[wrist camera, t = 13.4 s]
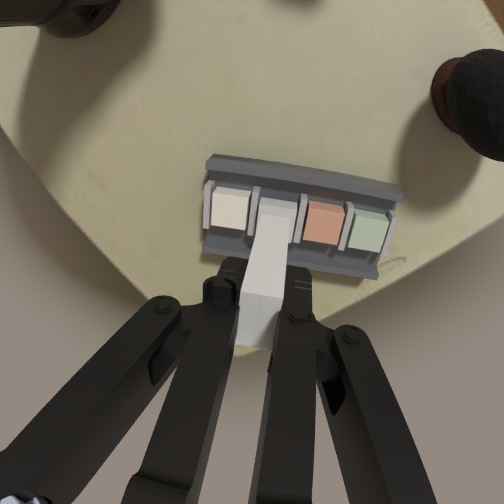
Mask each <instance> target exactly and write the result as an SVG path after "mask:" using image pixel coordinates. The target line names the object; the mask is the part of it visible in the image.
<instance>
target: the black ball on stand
mask: <svg viewBox="0 0 504 504" xmlns="http://www.w3.org/2000/svg"><path fill="white" fill-rule="evenodd" d="M431 90H432V101H433V105H434V108H435V111H436V113H437V115H438V117H439V118H440V120H441V121H442V122H443V124H444V125H445V126H446V127H447V128H449V129H450V130H451V131H453V132H455V133H456V134H458V135H460V136H461V137H462V138H463V139H464V141H465V142H466V143H467V144H468V145H469V146H470V147H471V148H473V149H474V150H475V151H476V152H478V153H480V154H481V155H483V156H485V157H487V158H490V159H493V160H496V161H501V162H504V51H500V50H496V49H481V50H477V51H474V52H471V53H469V54H467V55H466V56H464V57H458V58H452V59H449V60H447V61H446V62H444V63H443V64H442V65H441V66H440V67H439V68H438V70H437V71H436V73H435V75H434V78H433V81H432V89H431Z"/></svg>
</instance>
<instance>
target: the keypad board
mask: <svg viewBox="0 0 504 504" xmlns="http://www.w3.org/2000/svg"><path fill="white" fill-rule="evenodd" d="M205 169H207V170H209V181H208V182H207V183H206V184H205V186H204V207H203V228H205V229H206V240H205V241H204V243H203V245H202V252H204V253H210V254H216V255H222V256H228V257H229V256H232V257H238V258H244V259H249V258H250V254H251V250H252V247H253V243H254V239H255V235H256V227H257V219H258V211H259V204H260V200H261V197H265V198H271V199H277V200H284V201H290V202H296V203H297V214H296V219H295V225H294V230H293V236H292V241H291V243H288V250H287V262H286V265H292V266H299V267H305V268H307V269H309V270H315V271H321V272H328V273H334V274H340V275H347V276H353V277H360V278H366V279H373V280H377V278H378V276H379V273H378V270H377V267H376V266H377V264H378V261H379V258H380V257H384V258H385V257H386V255H387V252H388V249H389V246H390V243H391V240H392V237H393V234H394V231H395V228H396V224H397V221H398V216H397V215H396V213H395V208H396V204H397V202H402V203H403V200H404V196H405V195H404V194H403V193H402V191H401V190H400V189H399V188H398V186H397V185H394V184H390V183H385V182H381V181H376V180H372V179H367V178H362V177H357V176H352V175H347V174H342V173H337V172H332V171H327V170H321V169H315V168H310V167H304V166H298V165H292V164H285V163H279V162H272V161H265V160H258V159H251V158H243V157H235V156H227V155H218V154H213V155H212V156H211V157H210V158H209V159H208V160H207V161H206V168H205ZM216 187H225V188H232V189H239V190H246V191H251V198H250V206H249V215H248V223H247V226H246V229H245V230H240V229H234V228H227V227H221V226H214V225H211V214H212V196H213V192H214V190H215V189H216ZM309 200H310V201H316V202H321V203H327V204H333V205H338V206H343V209H344V213H345V215H344V219H343V223H342V227H341V231H340V235H339V239H338V243H337V245H333V244H327V243H321V242H315V241H309V240H303V228H304V223H305V218H306V213H307V208H308V202H309ZM355 209H359V210H365V211H370V212H375V213H380V214H385V215H386V217H387V219H388V221H389V225H388V228H387V231H386V235H385V238H384V241H383V244H382V247H381V250H380V253H379V252H373V251H368V250H362V249H356V248H350V247H348V245H347V237H348V234H349V230H350V226H351V222H352V218H353V215H354V211H355Z"/></svg>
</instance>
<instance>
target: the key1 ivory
mask: <svg viewBox="0 0 504 504" xmlns="http://www.w3.org/2000/svg"><path fill="white" fill-rule="evenodd" d="M250 198H251V191H246V190H239V189H232V188H225V187H216V189H215V190H214V192H213V196H212V214H211V225H214V226H221V227H227V228H234V229H240V230H245V229H246V226H247V223H248V215H249V206H250Z"/></svg>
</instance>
